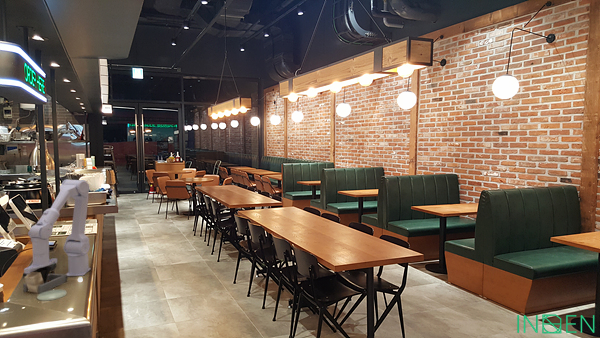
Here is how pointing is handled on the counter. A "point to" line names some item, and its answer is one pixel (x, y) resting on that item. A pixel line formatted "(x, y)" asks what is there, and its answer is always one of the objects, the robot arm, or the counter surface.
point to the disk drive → (48, 266)
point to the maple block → (34, 281)
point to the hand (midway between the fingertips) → (41, 284)
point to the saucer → (51, 295)
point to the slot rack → (55, 281)
